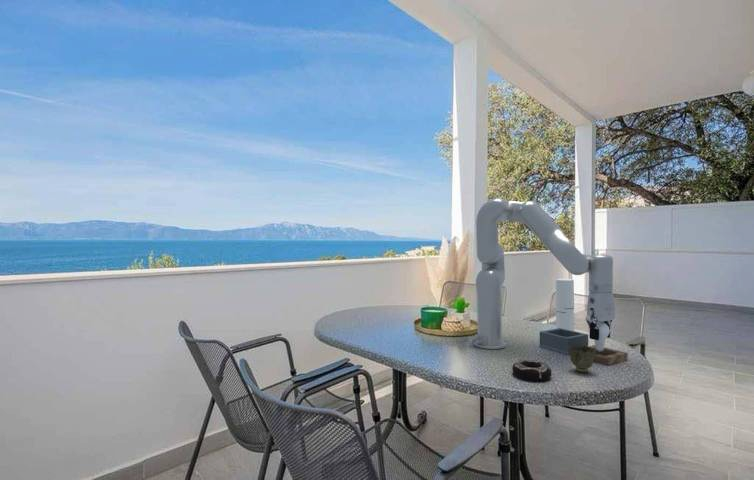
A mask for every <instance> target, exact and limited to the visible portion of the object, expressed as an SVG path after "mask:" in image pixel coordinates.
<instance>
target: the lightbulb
mask: <svg viewBox="0 0 754 480" xmlns="http://www.w3.org/2000/svg"><path fill="white" fill-rule="evenodd" d="M594 324H596V322H594ZM598 329H599V340H594V345H596V350H598V352H601V351H603V350H604V347H605V344H606V340H607V337H608V335H609V333H610V334H611V328H610V329H609V327H608V325H607V324H605V323H604V322H599V326H598Z"/></svg>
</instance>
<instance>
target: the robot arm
mask: <svg viewBox="0 0 754 480" xmlns="http://www.w3.org/2000/svg"><path fill="white" fill-rule="evenodd" d="M475 219H476V220H475V223H476V224H475V227H476V229H475V231H476V233H475V234H476V257H477V259H478V261H479V262H480V263H481V270H479V272H478V273H477V276H476V278H475V288H476V289H475V290H476V301H477V302H476V308H477V309H476V310H477V313H476V314H477V317H476V318H477V322H476V323H477V325H476V326H477V327H476V328H477V333H475V336H474V337H469V338H468V342H469V343H470V344H472V343H473V345H474V346H475V347H477V348H479V349H480V348H481V349H486V350H501V349H504V348H505V347H507V346H506V344H507V343H506V342H505V341H504V340H502V338H503V337H502V335H503V333H502V331H503V330H502V327H503V325H502V322H503V321H502V320H503V319H502V292H501V291H502V289H501V287H502V286H503V284H504V282H505V280H506V278H505V277H506V271H505V269H506V268H505V253H504V248H503V247H502V245H501V244H500V243H499V230H498V222H499V221H508V222H517V223H518V222H519V223H524V224H525V226H526V227H527V228H528V229H529V230H530V231H531V232H532V233H533V235H535V236H536V238H537V239H538V240H539V241H540V242H541V244H542V245H544V247H545V248H546V249H548V251H550V252H551V254H552V255H553V256H554V257H555V258H556V259H557V261H558V262H559V263H560V264H561V265H562V266H563V267H564V269H565V270H567V271H568V273H570V274H571V275H574V276H582V275H584V274H587V273H588V297H587V308H586V315H587V316H586V317H585V322H586V323H587V326H588V328H589V335H588V339H590V340H594V341H595V340H599V329H598V326H599V322H604V323H605V324H607V325H608V327H609V329H610V330H611V326H612V322H613V320H614V319H615V317H616V313H615V311H616V308H615V298H614V293H613V290H614V289H613V280H614V278H613V277H614V258H613V257H612V255H608V254H586V253H582V252H581V251H580V250H579V249H578V248H577V247H576V246H575V245H574V243H573V242H572V241H571V240H570V239H569V238H568V237H567V235H566V233H564V231H563V229H562V228H561V227H560V226H559V225H558V223H556V222H555V221H554V219H553V218H552V217H551V216H550V215H549V214H548V213H547V212H546V211H545V210H544V209H543V208H542V206H541V205H540V204H539V203H537V202H536V201H533V200H526V201H517V200H516V201H515V200H506V199H504V198H501V197H496V198H491V199H489V200H488V201H486V202H485V203H484V204H483V205H482V206H481V207H480V209H478V213H477V214H476V218H475ZM595 322H596V324H594V323H595ZM607 338H608V339H609V338H611V332H610V333H609V335H608V337H607ZM607 338H606V339H607Z"/></svg>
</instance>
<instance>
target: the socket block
mask: <svg viewBox="0 0 754 480" xmlns="http://www.w3.org/2000/svg"><path fill="white" fill-rule="evenodd" d="M588 347H591V350H593V349H595V353H594V360H593V363H597V364H600V365H603V366H608V367H609V366H612V365H616V364H620V363H622V362H625V361H628V359H629V358H628V352H625V351H621V350H617V349H612V348H609V347H608V348H607V347H605V346H604V350H603V351H601V352H598V350H596V344H594V345H590V346H589V345H588Z"/></svg>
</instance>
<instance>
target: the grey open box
mask: <svg viewBox="0 0 754 480" xmlns="http://www.w3.org/2000/svg"><path fill="white" fill-rule="evenodd" d="M573 345H574V346H575V345H577V346H578V348H579V345H581V347H583V346H584V345H586V346H587V347H589V334H588V333H585V332H579V331H575V330H574V331H571V330H567V329H562V328H556V327H555V328H552V329H547V330H546V329H545V330H542V331H539V347H540V348H544V349H548V350H550V351H552V352H553V351H554V352H557V353H561V354H564V355H567V356H568V355H569V356H570V348H569V346H571V347H573Z"/></svg>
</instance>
